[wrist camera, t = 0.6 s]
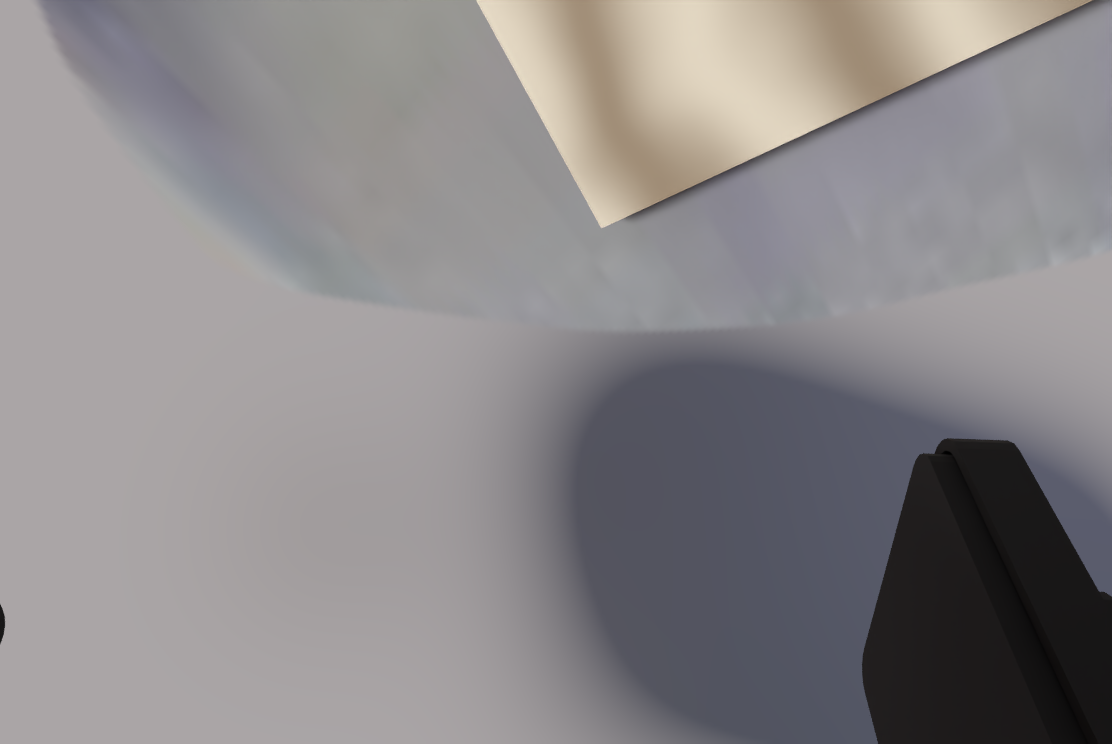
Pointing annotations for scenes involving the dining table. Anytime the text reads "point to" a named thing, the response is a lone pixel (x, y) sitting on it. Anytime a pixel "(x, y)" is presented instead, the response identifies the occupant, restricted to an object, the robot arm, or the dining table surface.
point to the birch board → (723, 76)
